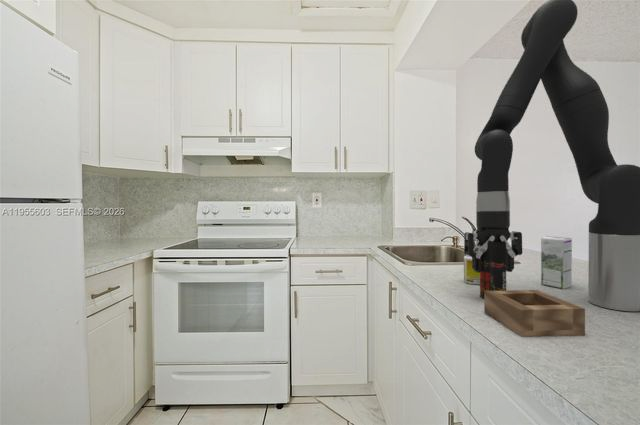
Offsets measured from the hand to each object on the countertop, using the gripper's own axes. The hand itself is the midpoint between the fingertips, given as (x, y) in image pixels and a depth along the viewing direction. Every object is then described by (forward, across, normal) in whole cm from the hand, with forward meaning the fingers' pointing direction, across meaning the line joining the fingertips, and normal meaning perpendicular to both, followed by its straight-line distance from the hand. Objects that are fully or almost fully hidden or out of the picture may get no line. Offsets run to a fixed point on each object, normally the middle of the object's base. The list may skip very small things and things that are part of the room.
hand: (492, 271), depth 76 cm
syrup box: (+7, -25, -10) cm, 28 cm away
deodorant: (+7, 0, 0) cm, 7 cm away
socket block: (+7, +2, +16) cm, 18 cm away
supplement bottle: (+7, -3, -15) cm, 17 cm away
